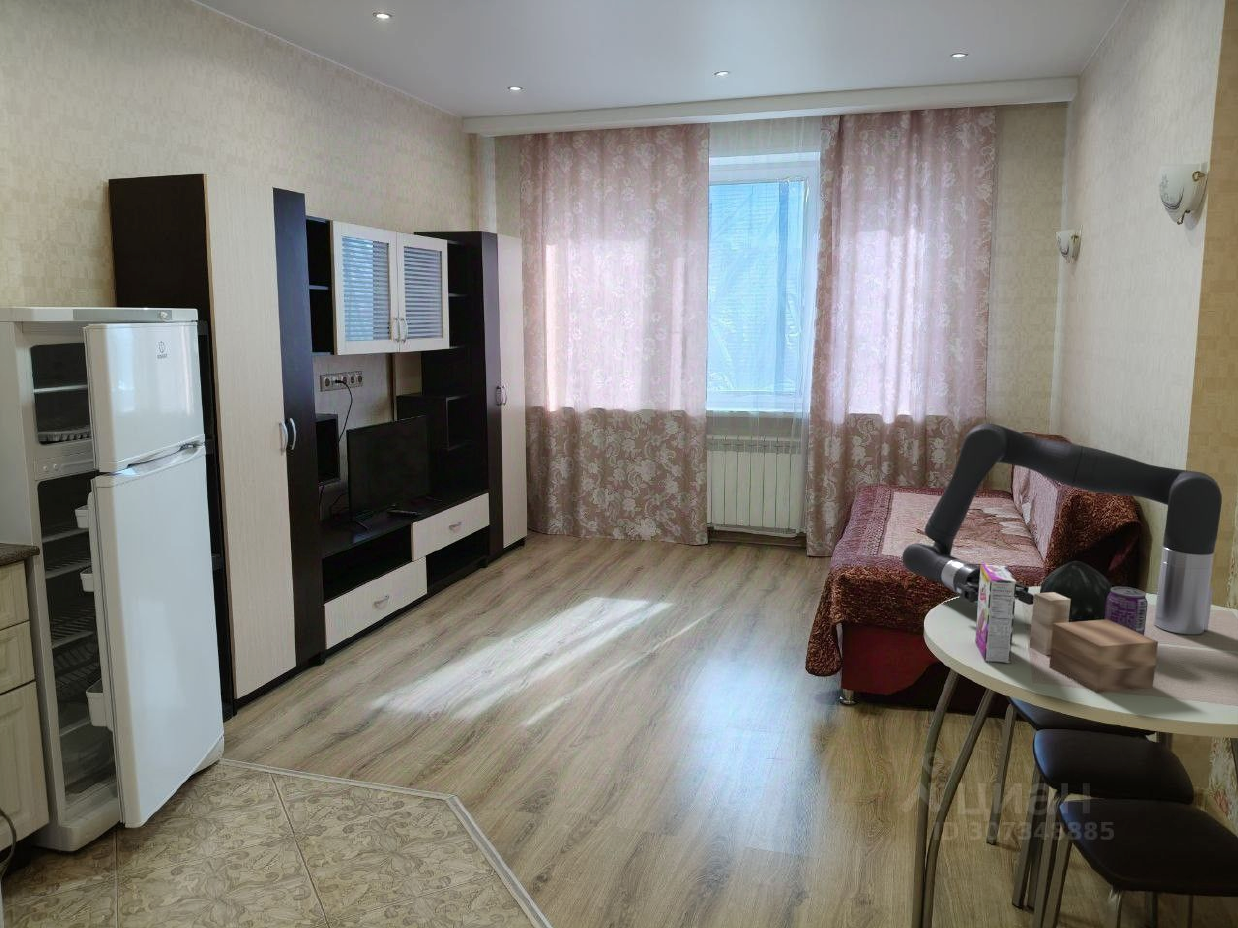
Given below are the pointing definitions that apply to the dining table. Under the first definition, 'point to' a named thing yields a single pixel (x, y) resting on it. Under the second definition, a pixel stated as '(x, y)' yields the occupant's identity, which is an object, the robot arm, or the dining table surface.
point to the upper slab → (1104, 644)
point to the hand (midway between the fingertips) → (1014, 601)
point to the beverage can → (1127, 608)
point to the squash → (1080, 590)
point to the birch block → (1047, 619)
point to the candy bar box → (995, 613)
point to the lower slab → (1101, 674)
